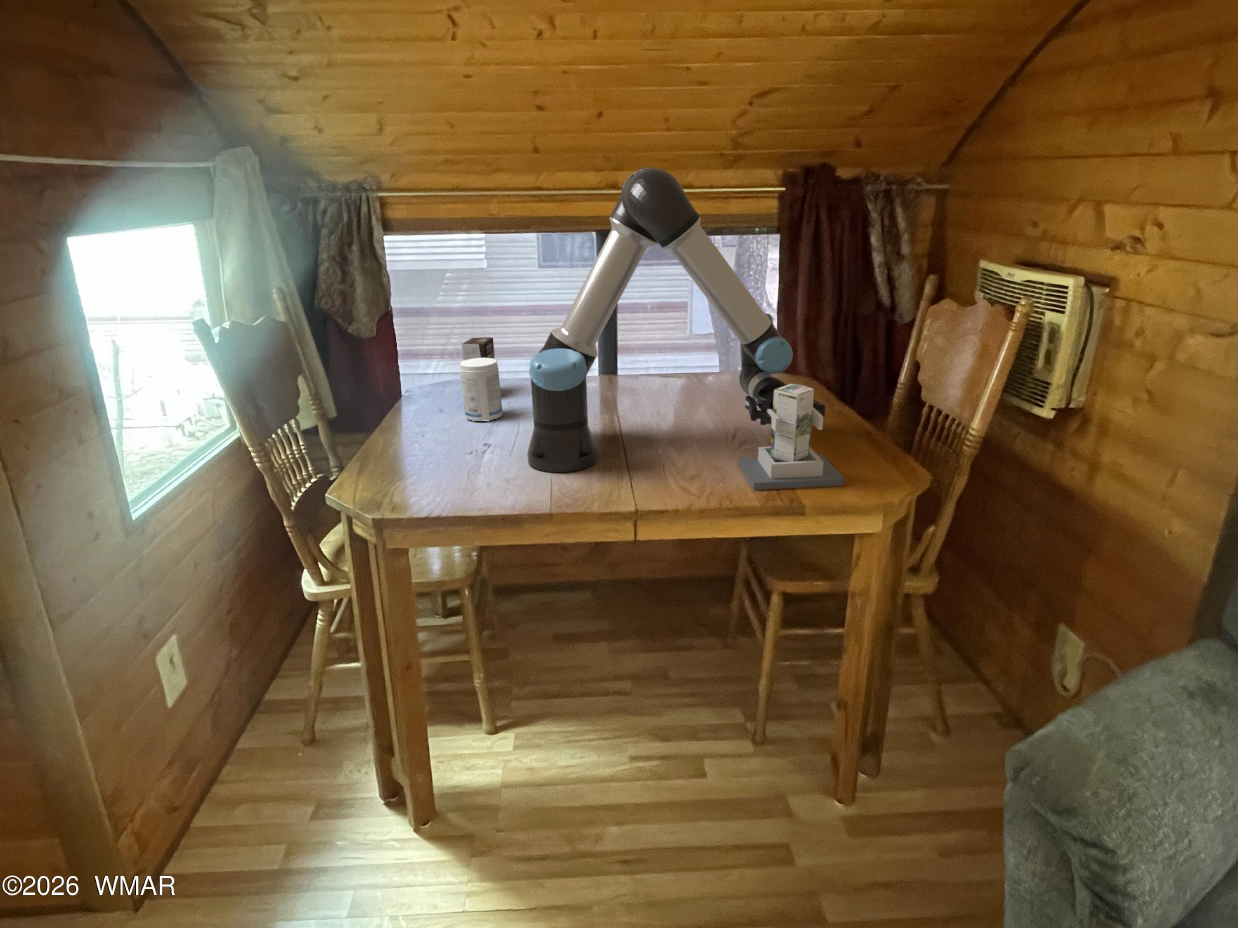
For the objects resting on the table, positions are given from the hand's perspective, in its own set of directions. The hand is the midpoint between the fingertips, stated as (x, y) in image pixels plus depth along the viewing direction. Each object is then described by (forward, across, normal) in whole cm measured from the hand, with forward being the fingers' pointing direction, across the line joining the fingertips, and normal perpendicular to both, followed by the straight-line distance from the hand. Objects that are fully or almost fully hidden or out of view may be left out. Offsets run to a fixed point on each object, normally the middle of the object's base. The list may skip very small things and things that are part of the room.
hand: (799, 424), depth 153 cm
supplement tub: (-55, +66, -12) cm, 87 cm away
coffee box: (-75, +68, -12) cm, 102 cm away
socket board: (-5, 0, -12) cm, 13 cm away
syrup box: (-5, 0, -9) cm, 10 cm away
